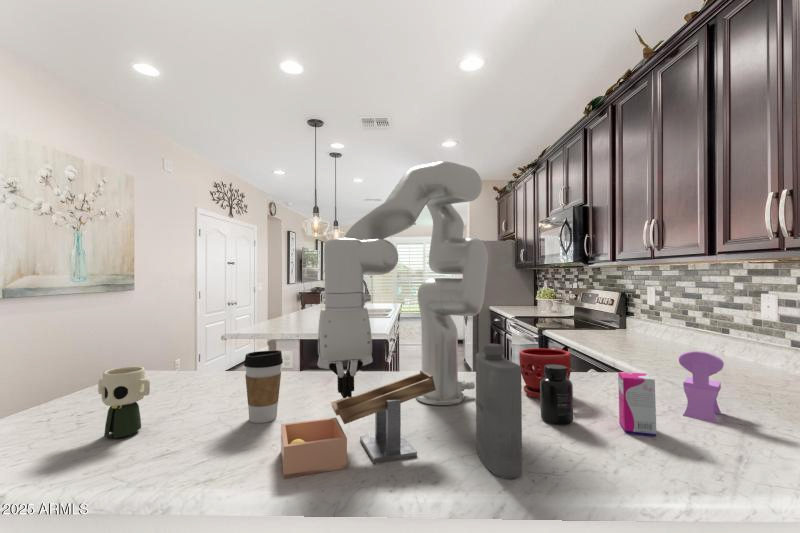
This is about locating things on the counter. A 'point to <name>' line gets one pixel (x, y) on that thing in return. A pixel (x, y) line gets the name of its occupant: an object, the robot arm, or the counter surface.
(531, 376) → the plant pot
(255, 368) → the coffee cup
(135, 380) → the character mug
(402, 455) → the pivot stand
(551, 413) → the supplement bottle
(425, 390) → the lever
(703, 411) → the toy chair
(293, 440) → the ball
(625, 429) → the supplement box
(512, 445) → the flask
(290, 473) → the pink open box
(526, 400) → the counter surface
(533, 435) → the counter surface
